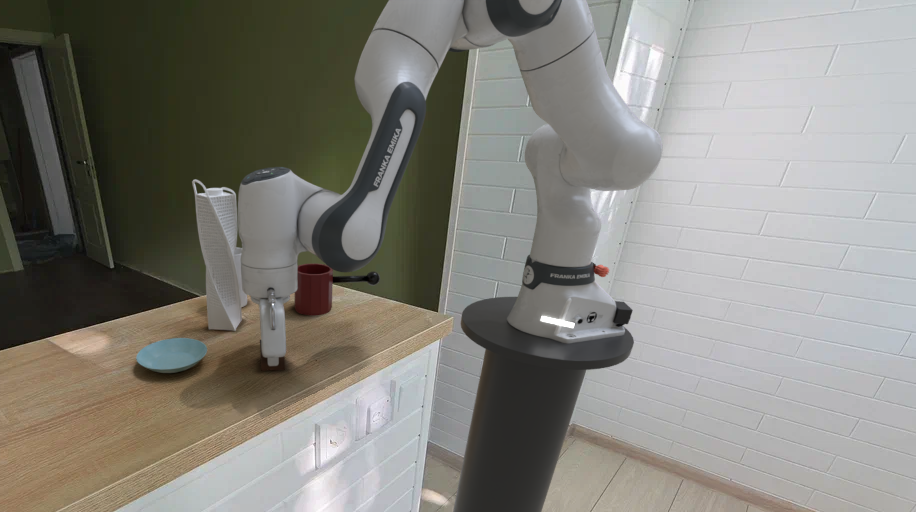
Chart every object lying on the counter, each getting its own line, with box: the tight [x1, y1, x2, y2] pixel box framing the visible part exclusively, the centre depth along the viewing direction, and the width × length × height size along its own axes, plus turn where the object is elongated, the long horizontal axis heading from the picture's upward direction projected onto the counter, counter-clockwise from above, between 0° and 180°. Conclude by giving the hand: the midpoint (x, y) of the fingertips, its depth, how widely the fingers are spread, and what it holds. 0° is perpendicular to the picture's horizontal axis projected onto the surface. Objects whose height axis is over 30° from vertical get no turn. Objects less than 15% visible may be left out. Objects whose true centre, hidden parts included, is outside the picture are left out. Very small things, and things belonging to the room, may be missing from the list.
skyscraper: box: [191, 178, 243, 332], centre depth 91 cm, size 8×8×28 cm
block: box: [259, 339, 286, 372], centre depth 82 cm, size 4×4×4 cm
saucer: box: [135, 337, 208, 374], centre depth 83 cm, size 12×12×2 cm
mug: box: [234, 246, 248, 308], centre depth 104 cm, size 10×7×12 cm, turn 169°
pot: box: [294, 263, 381, 317], centre depth 104 cm, size 18×8×9 cm, turn 96°
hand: (272, 356), depth 82 cm, fingers closed on block, 4 cm apart
